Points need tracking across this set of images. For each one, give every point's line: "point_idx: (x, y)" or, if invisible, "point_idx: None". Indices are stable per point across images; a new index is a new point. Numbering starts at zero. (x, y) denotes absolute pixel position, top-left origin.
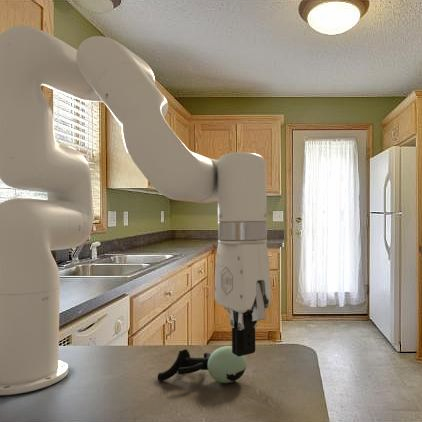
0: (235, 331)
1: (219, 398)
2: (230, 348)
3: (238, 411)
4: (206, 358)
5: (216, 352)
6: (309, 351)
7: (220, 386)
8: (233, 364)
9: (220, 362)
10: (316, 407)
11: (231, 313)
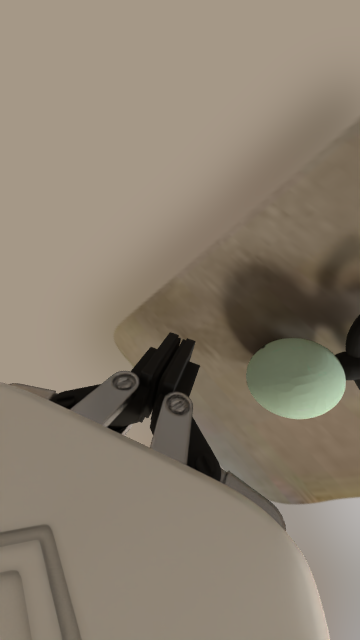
0: (152, 370)
1: (249, 301)
2: (284, 402)
3: (190, 287)
4: (354, 372)
5: (315, 380)
6: None
7: (283, 336)
8: (255, 366)
9: (283, 357)
10: (125, 349)
11: (169, 439)
